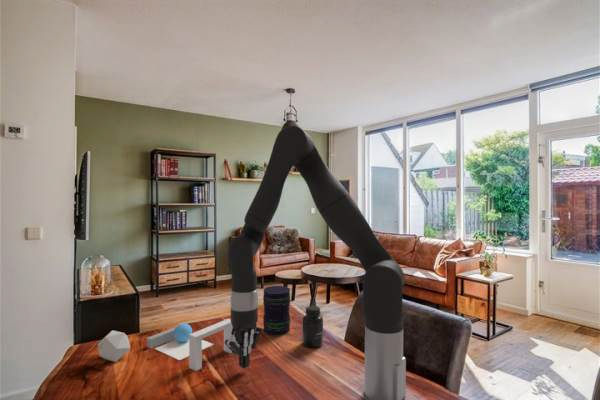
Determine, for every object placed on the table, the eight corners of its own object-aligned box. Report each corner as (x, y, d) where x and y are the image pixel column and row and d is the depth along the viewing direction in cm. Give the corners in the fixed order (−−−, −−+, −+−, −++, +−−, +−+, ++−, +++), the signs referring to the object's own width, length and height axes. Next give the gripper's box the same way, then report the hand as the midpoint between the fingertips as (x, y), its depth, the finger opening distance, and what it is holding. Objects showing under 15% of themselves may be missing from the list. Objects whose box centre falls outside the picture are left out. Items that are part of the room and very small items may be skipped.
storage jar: (281, 322, 131) (281, 284, 131) (295, 331, 123) (295, 290, 123) (258, 328, 126) (258, 288, 125) (271, 338, 118) (271, 295, 117)
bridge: (234, 350, 108) (234, 320, 108) (196, 371, 96) (195, 337, 96) (228, 348, 110) (228, 318, 110) (189, 367, 97) (189, 334, 97)
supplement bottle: (321, 349, 109) (321, 312, 109) (300, 347, 110) (300, 310, 110) (324, 340, 116) (324, 305, 116) (304, 338, 117) (304, 304, 117)
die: (107, 354, 107) (88, 337, 102) (133, 336, 110) (117, 319, 105) (111, 373, 101) (92, 356, 96) (138, 354, 104) (122, 337, 99)
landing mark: (213, 344, 112) (213, 344, 112) (179, 360, 102) (179, 359, 102) (188, 335, 120) (188, 334, 120) (154, 349, 109) (154, 348, 109)
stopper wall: (187, 333, 121) (187, 325, 121) (150, 348, 110) (150, 339, 110) (183, 332, 122) (183, 324, 122) (147, 346, 111) (147, 337, 111)
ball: (186, 336, 119) (196, 340, 115) (170, 342, 114) (180, 347, 111) (185, 319, 119) (195, 323, 115) (169, 324, 114) (179, 328, 111)
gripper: (236, 315, 87) (236, 381, 88) (269, 301, 98) (269, 361, 98) (216, 309, 92) (217, 373, 92) (250, 297, 102) (250, 354, 103)
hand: (244, 366), depth 95 cm, fingers closed
